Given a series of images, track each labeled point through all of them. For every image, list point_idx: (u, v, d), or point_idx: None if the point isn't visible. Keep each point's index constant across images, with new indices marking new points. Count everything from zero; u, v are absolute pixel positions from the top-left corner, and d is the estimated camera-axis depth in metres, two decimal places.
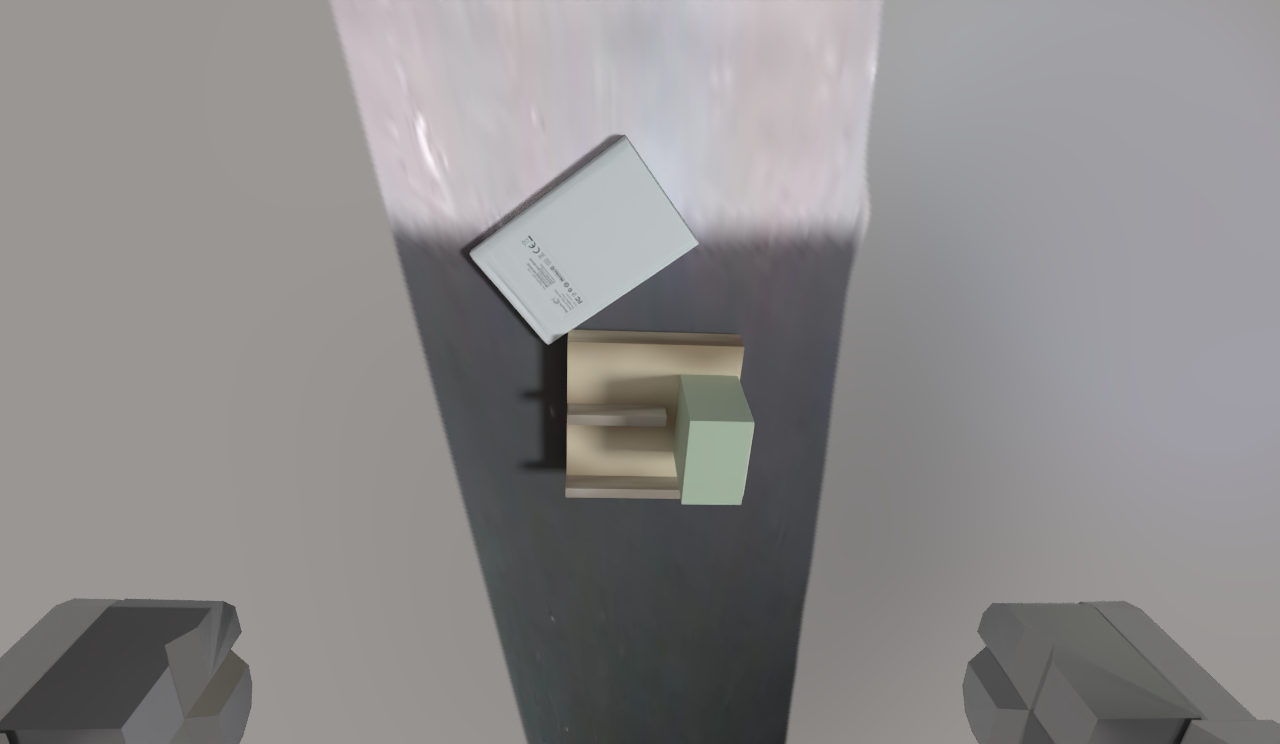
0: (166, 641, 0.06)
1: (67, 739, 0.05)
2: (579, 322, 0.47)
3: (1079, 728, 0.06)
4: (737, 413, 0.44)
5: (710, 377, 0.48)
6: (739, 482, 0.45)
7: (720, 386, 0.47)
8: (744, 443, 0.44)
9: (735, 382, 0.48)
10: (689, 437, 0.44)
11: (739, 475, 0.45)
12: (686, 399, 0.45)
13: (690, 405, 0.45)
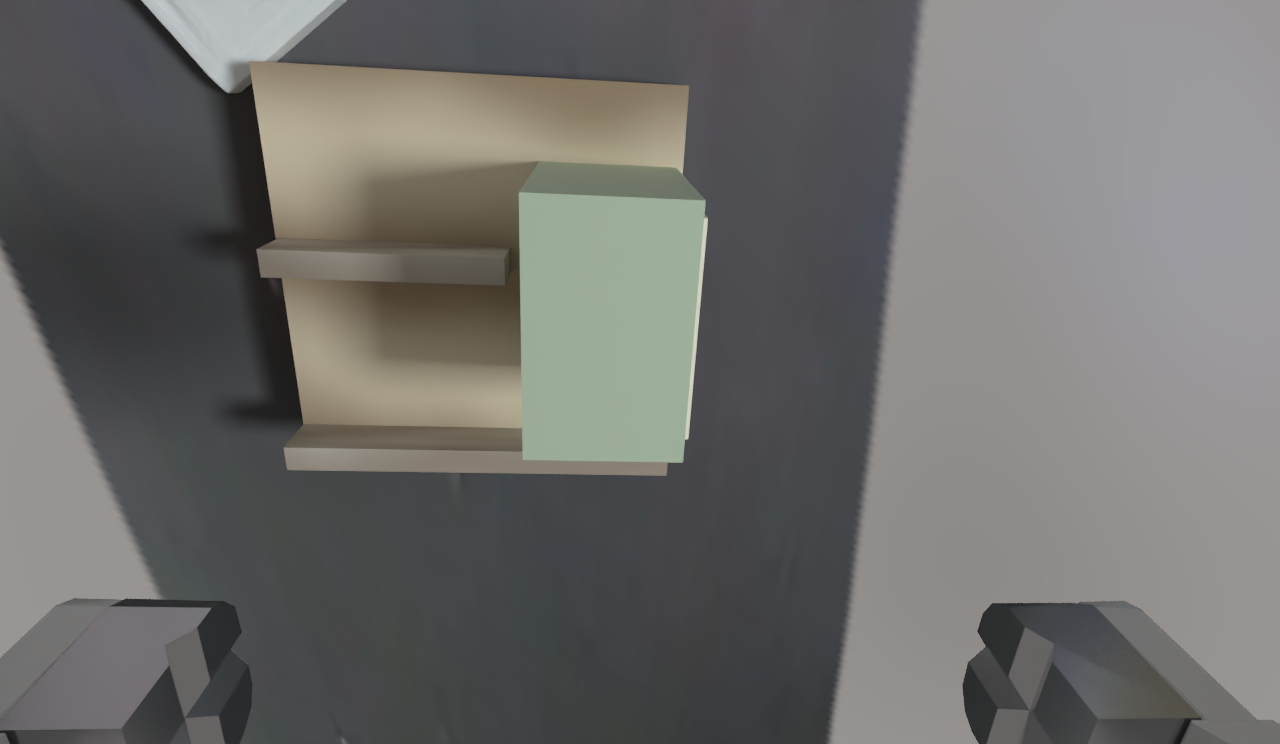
0: (165, 641, 0.06)
1: (66, 739, 0.05)
2: (292, 28, 0.20)
3: (1079, 728, 0.06)
4: (661, 191, 0.16)
5: (610, 165, 0.20)
6: (674, 396, 0.17)
7: (630, 172, 0.19)
8: (681, 272, 0.16)
9: (668, 171, 0.20)
10: (522, 249, 0.15)
11: (673, 374, 0.17)
12: (531, 176, 0.17)
13: (535, 181, 0.16)
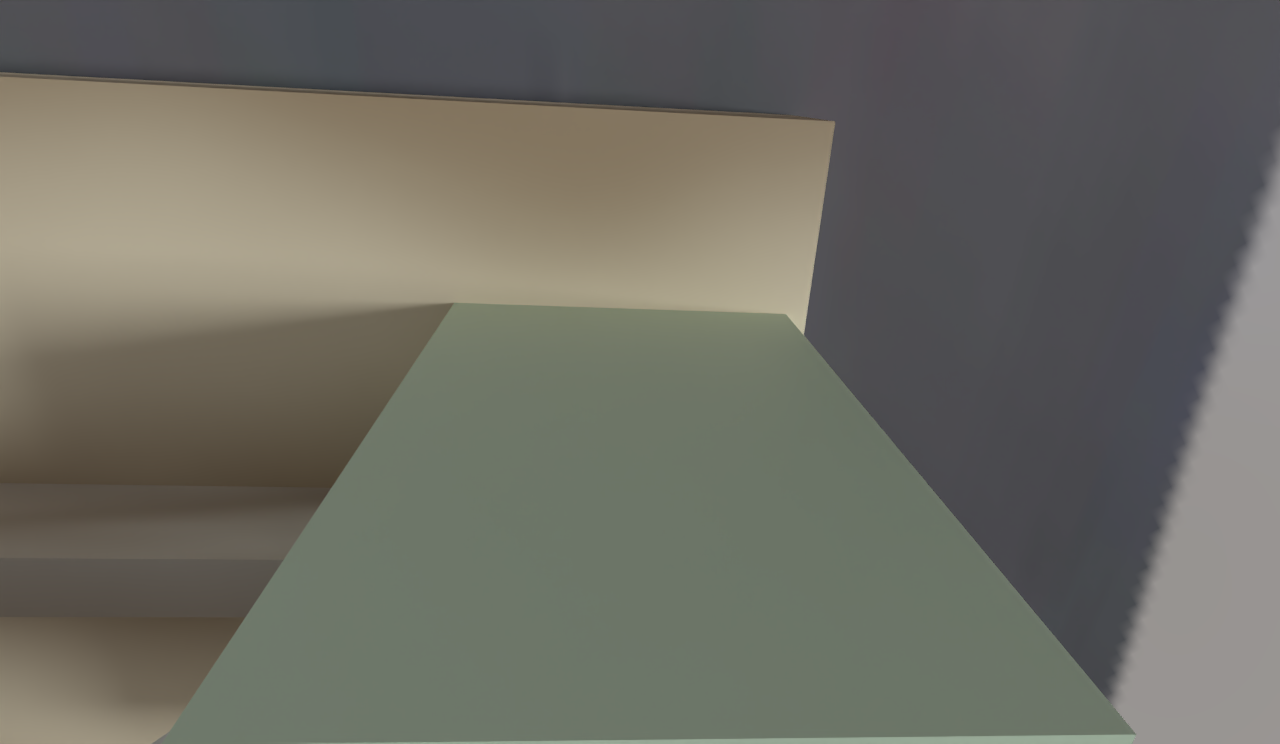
0: None
1: None
2: None
3: None
4: (855, 580, 0.04)
5: (628, 317, 0.08)
6: None
7: (686, 358, 0.07)
8: None
9: (779, 341, 0.08)
10: None
11: None
12: (373, 436, 0.05)
13: (363, 489, 0.04)
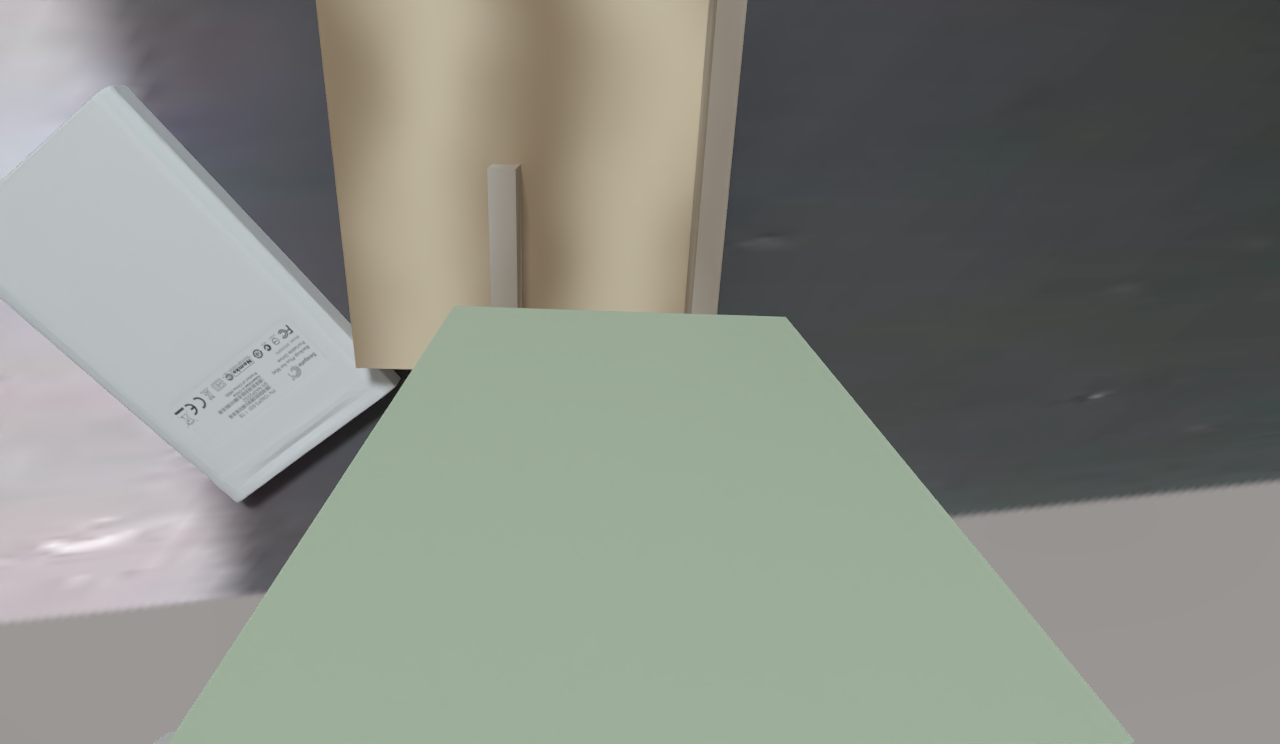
0: None
1: None
2: (336, 330, 0.24)
3: None
4: (854, 584, 0.04)
5: (628, 320, 0.08)
6: None
7: (685, 361, 0.07)
8: None
9: (778, 344, 0.08)
10: None
11: None
12: (373, 440, 0.05)
13: (363, 494, 0.04)
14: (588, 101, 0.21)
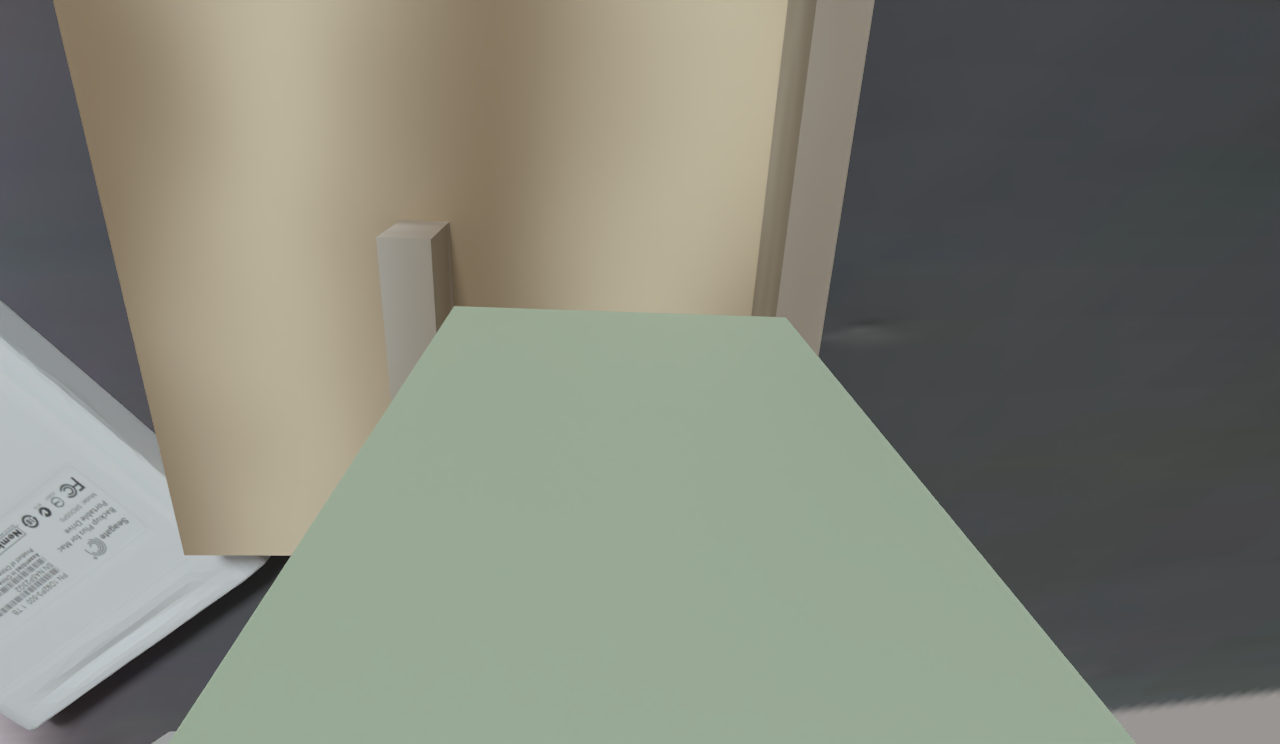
0: None
1: None
2: (159, 482, 0.15)
3: None
4: (857, 587, 0.04)
5: (628, 320, 0.08)
6: None
7: (685, 362, 0.07)
8: None
9: (778, 344, 0.08)
10: None
11: None
12: (373, 441, 0.05)
13: (363, 494, 0.04)
14: (570, 109, 0.11)
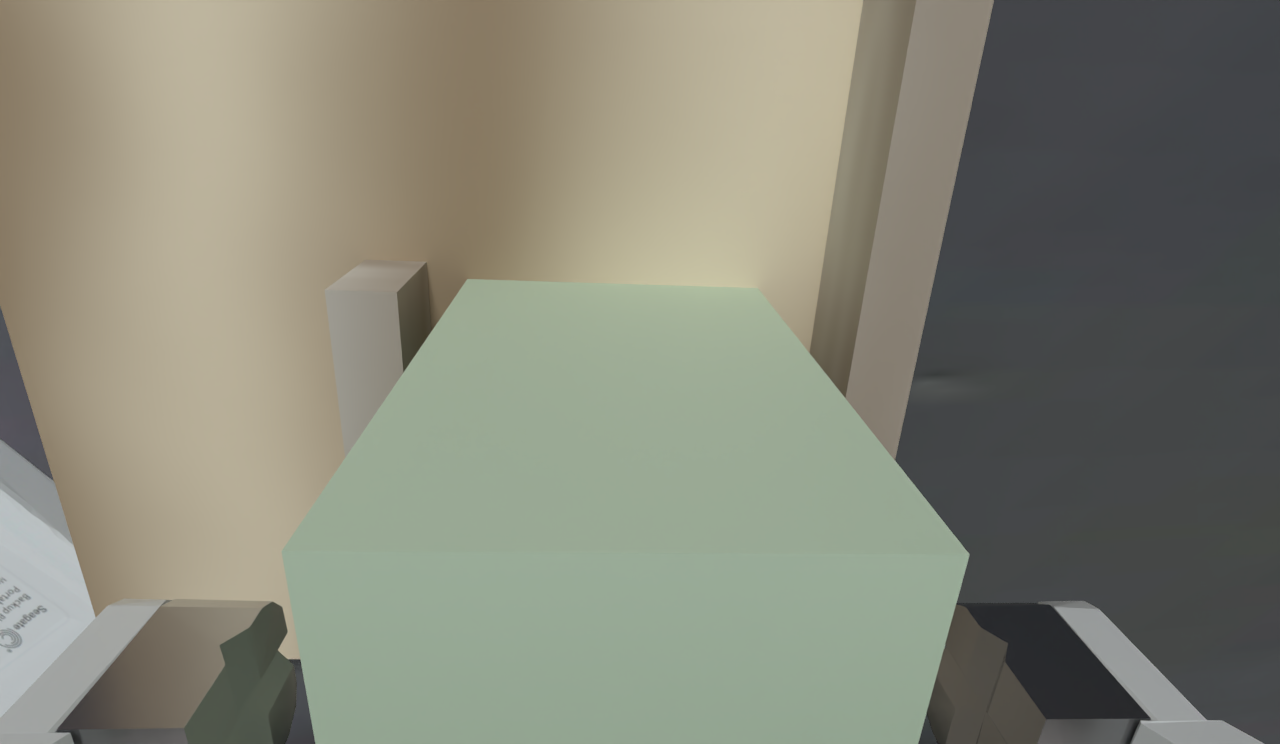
0: (220, 641, 0.06)
1: (130, 738, 0.05)
2: None
3: (1029, 728, 0.06)
4: (784, 467, 0.05)
5: (619, 290, 0.09)
6: None
7: (667, 321, 0.08)
8: None
9: (748, 309, 0.09)
10: (320, 713, 0.04)
11: None
12: (408, 375, 0.06)
13: (404, 409, 0.06)
14: (581, 120, 0.09)
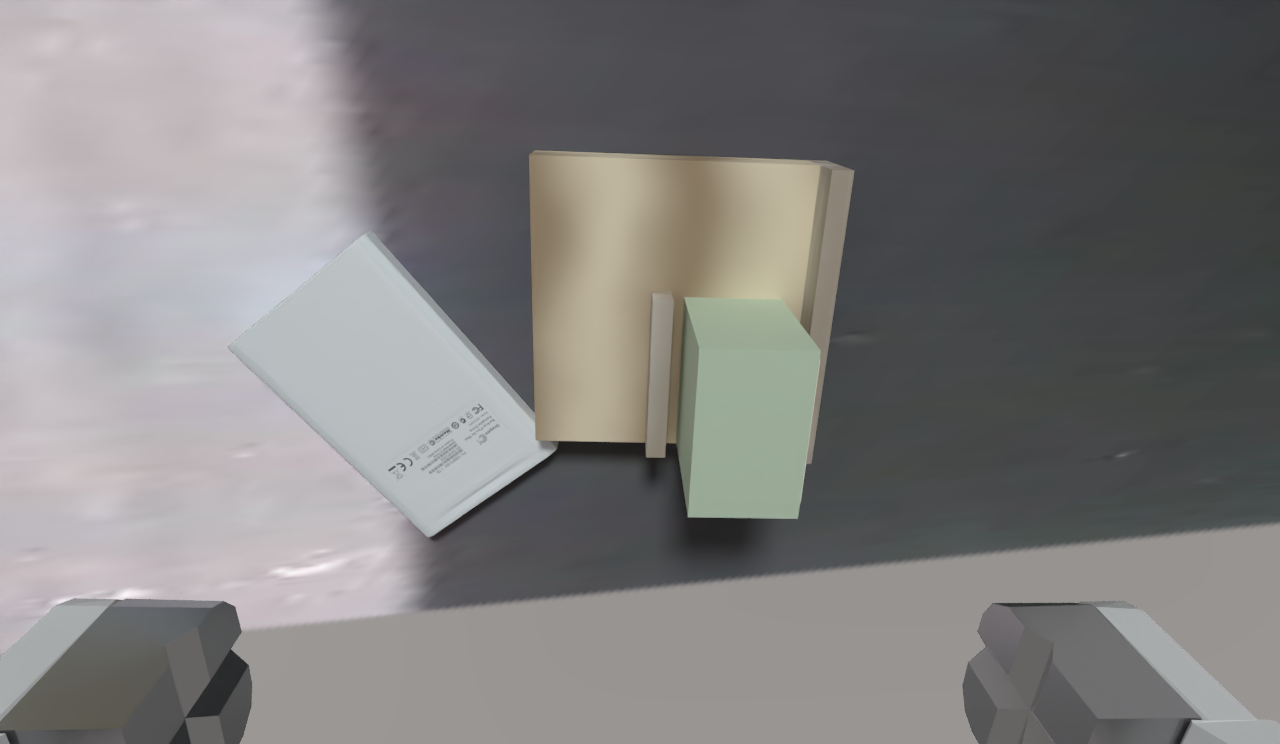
0: (165, 641, 0.06)
1: (66, 739, 0.05)
2: (515, 407, 0.31)
3: (1079, 728, 0.06)
4: (787, 339, 0.24)
5: (735, 300, 0.28)
6: (793, 475, 0.25)
7: (754, 310, 0.27)
8: (802, 395, 0.23)
9: (779, 306, 0.27)
10: (698, 382, 0.23)
11: (794, 460, 0.24)
12: (693, 323, 0.25)
13: (699, 330, 0.24)
14: (725, 246, 0.28)
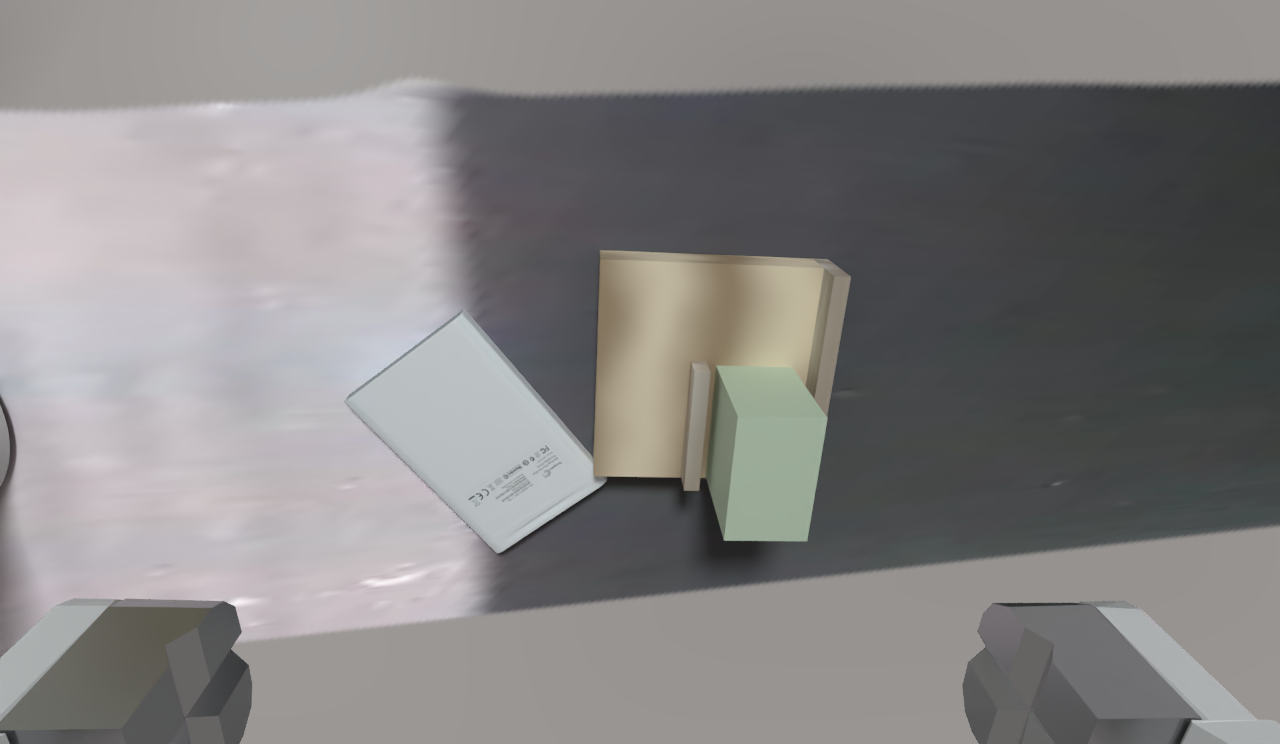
0: (166, 641, 0.06)
1: (66, 739, 0.05)
2: (575, 448, 0.39)
3: (1079, 728, 0.06)
4: (801, 408, 0.32)
5: (756, 368, 0.36)
6: (804, 508, 0.32)
7: (772, 378, 0.35)
8: (813, 450, 0.31)
9: (790, 374, 0.35)
10: (736, 441, 0.31)
11: (805, 497, 0.32)
12: (728, 392, 0.33)
13: (734, 398, 0.32)
14: (749, 327, 0.35)
